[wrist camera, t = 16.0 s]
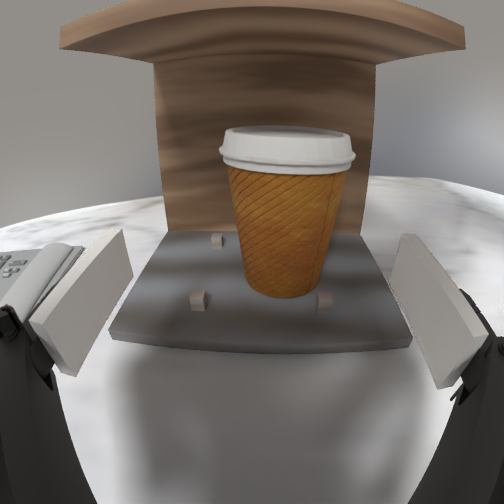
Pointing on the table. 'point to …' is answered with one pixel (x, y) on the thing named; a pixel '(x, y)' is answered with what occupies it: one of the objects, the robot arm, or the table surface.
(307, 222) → the disposable coffee cup
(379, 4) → the walnut overhang shelf
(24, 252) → the office telephone
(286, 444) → the table surface
